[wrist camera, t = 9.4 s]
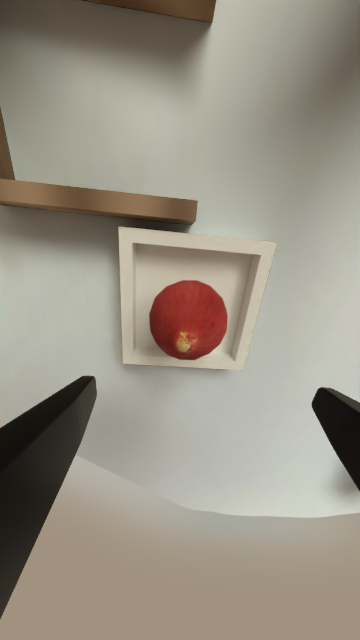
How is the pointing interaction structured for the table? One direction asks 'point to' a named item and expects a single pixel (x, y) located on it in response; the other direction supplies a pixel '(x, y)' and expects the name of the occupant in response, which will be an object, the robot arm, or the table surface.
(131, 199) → the bay
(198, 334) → the onion
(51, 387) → the table surface
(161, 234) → the tray
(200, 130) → the table surface
